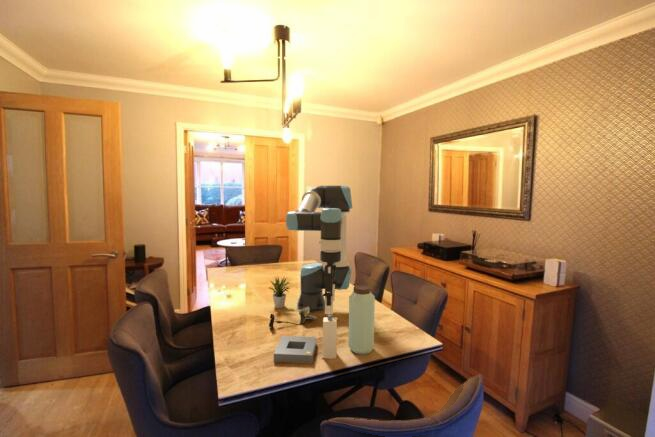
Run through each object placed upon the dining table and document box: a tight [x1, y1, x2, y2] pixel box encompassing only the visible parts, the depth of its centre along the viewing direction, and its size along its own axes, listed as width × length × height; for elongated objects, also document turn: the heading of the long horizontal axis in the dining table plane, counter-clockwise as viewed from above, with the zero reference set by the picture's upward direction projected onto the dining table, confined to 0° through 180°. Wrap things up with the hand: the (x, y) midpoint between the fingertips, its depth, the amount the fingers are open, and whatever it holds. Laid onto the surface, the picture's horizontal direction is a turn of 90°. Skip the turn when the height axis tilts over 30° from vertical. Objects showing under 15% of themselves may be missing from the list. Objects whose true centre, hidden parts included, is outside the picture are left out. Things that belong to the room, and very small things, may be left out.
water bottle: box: [348, 284, 376, 355], centre depth 122 cm, size 10×10×25 cm
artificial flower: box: [268, 307, 318, 329], centre depth 146 cm, size 9×22×10 cm, turn 108°
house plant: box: [267, 276, 293, 309], centre depth 166 cm, size 14×14×16 cm
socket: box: [273, 335, 317, 364], centre depth 120 cm, size 14×14×3 cm
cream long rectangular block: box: [322, 314, 338, 359], centre depth 118 cm, size 4×5×16 cm
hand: (330, 306), depth 116 cm, fingers open, 13 cm apart
